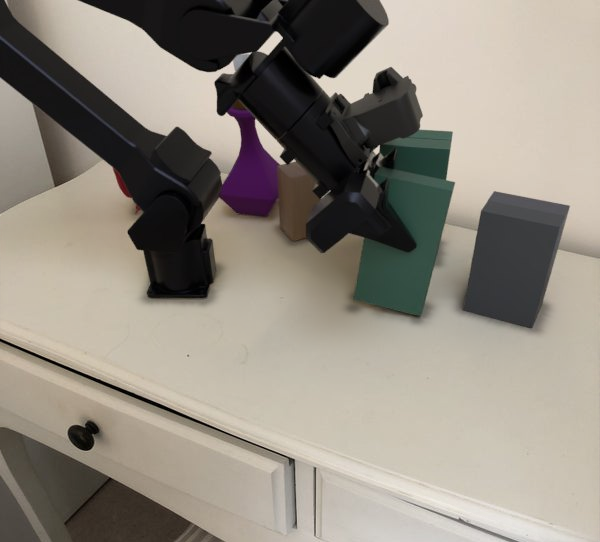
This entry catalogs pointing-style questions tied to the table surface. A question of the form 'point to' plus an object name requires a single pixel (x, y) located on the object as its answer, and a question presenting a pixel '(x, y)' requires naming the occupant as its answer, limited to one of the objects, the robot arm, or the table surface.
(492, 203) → the charcoal book
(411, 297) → the green book
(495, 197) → the charcoal book
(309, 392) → the table surface
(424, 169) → the green book
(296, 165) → the wooden block
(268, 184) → the perfume bottle
